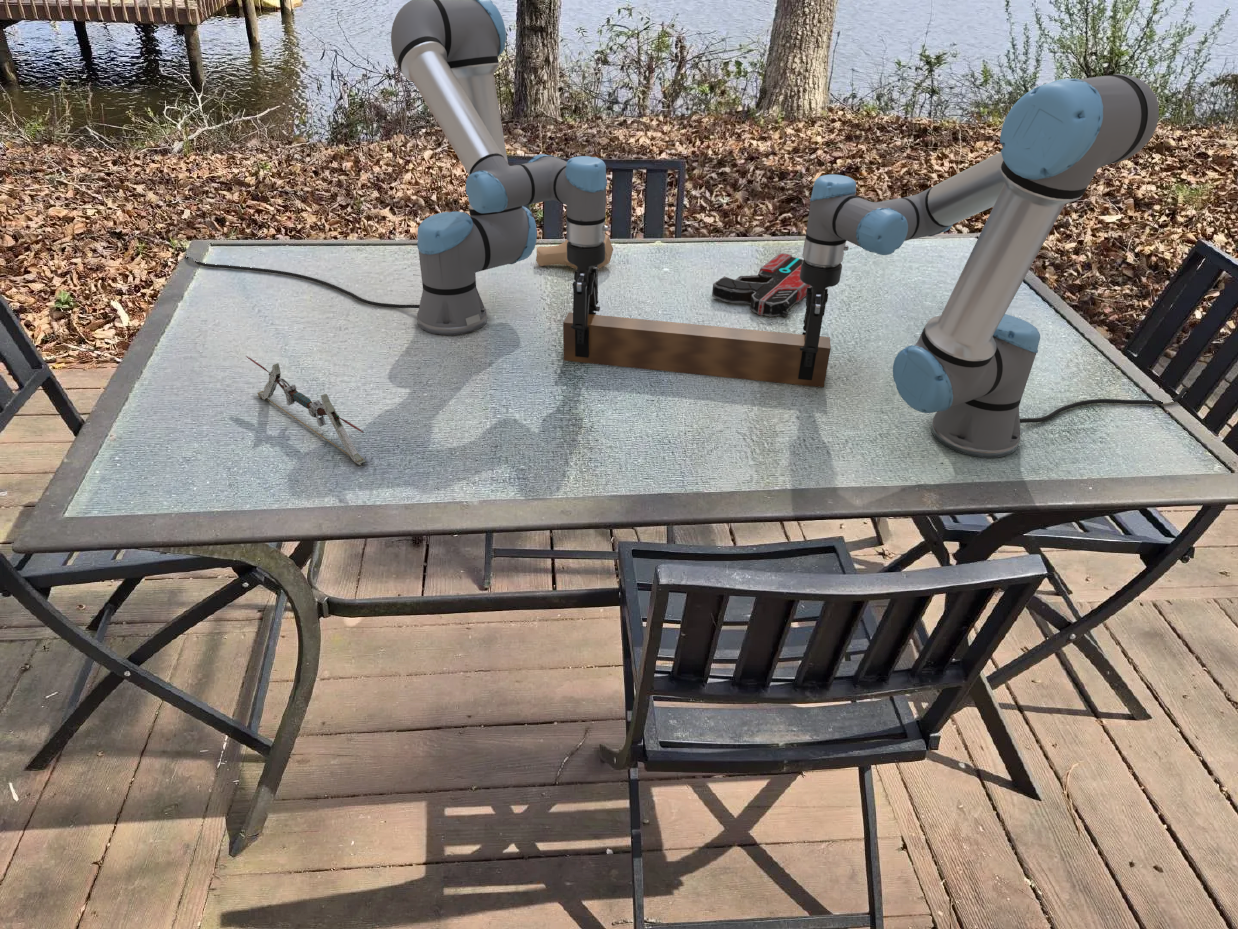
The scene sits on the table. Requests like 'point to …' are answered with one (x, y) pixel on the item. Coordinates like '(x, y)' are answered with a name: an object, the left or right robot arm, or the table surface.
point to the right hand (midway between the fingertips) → (804, 370)
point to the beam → (696, 349)
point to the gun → (766, 287)
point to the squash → (560, 254)
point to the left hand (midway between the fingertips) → (585, 348)
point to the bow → (311, 409)
